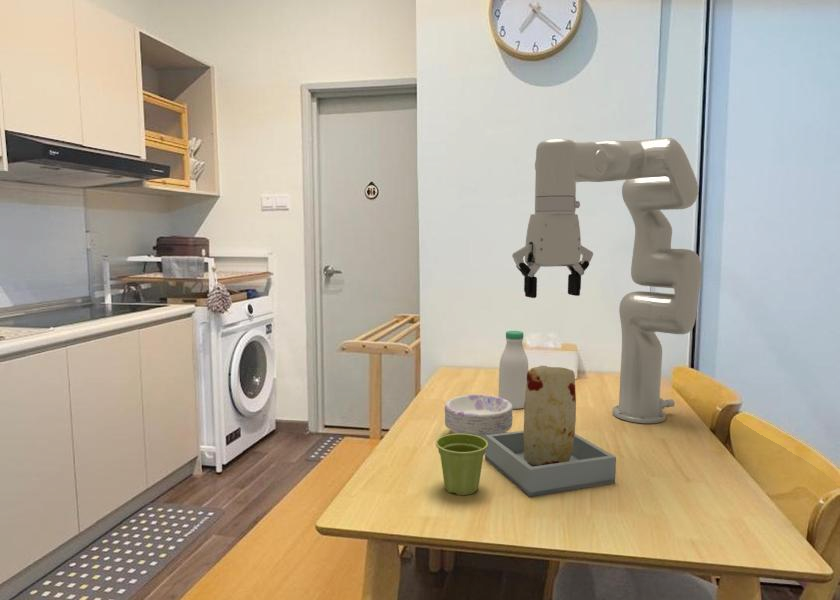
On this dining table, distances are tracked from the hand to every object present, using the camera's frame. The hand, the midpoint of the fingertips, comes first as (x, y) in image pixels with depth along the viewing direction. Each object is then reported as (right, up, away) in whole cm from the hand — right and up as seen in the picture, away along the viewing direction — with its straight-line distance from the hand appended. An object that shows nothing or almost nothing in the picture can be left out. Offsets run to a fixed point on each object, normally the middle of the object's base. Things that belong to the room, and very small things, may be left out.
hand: (552, 296), depth 112 cm
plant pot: (-18, -35, -8) cm, 40 cm away
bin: (-1, -34, 0) cm, 34 cm away
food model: (-1, -33, +1) cm, 33 cm away
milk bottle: (-1, -29, +43) cm, 52 cm away
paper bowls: (-13, -32, +19) cm, 39 cm away
